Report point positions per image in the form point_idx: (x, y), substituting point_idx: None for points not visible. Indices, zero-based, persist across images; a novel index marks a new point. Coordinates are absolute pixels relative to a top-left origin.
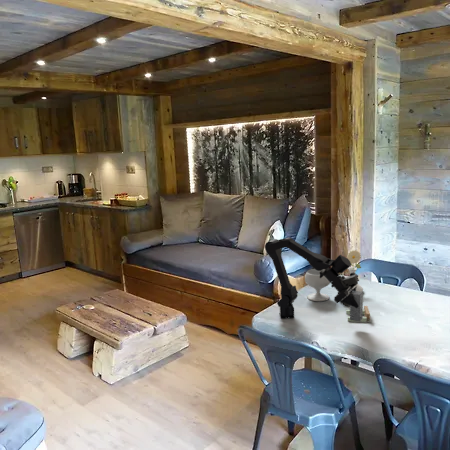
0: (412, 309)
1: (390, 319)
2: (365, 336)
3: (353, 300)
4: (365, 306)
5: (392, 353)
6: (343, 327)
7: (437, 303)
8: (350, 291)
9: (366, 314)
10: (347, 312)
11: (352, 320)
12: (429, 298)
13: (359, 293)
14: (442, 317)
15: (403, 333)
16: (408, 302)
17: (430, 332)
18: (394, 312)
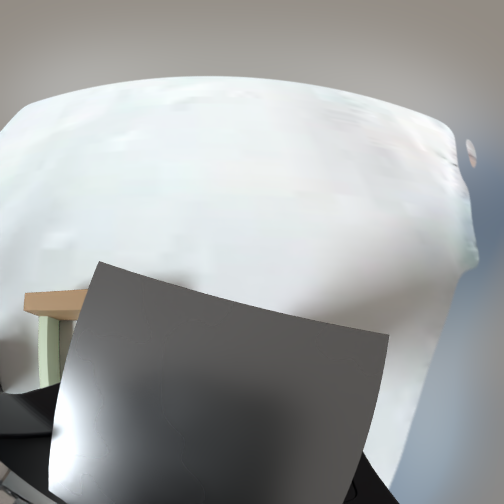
0: (53, 147)
1: (114, 205)
2: None
3: (363, 457)
4: (29, 303)
5: (443, 217)
6: None
7: (45, 108)
8: (38, 490)
9: None
10: None
11: None
12: (17, 127)
13: (247, 366)
14: (124, 85)
15: (261, 162)
16: (13, 163)
17: (235, 98)
18: (57, 194)
